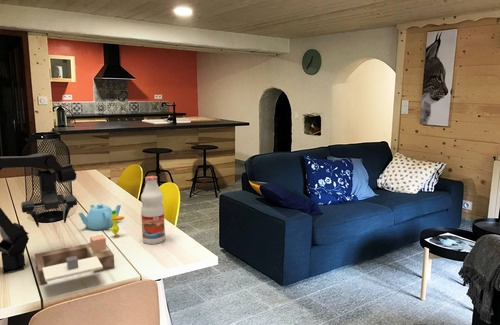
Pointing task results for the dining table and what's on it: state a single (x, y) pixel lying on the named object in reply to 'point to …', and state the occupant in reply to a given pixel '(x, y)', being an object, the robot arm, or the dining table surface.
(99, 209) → the teapot
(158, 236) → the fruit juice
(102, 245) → the block
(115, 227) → the toy figure
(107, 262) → the brown shallow open box
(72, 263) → the cover
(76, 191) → the dining table surface
